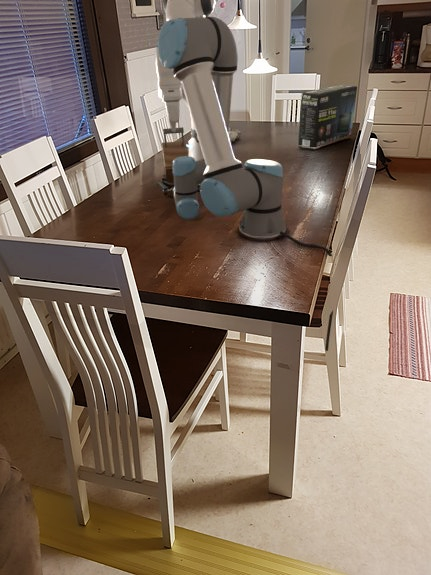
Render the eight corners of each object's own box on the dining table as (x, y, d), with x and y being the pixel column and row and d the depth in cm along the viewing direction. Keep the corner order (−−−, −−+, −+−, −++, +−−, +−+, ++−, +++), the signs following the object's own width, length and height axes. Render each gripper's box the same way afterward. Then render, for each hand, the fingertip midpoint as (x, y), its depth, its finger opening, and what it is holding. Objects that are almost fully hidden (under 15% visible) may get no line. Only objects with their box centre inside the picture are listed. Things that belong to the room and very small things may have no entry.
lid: (161, 144, 186) (159, 125, 179) (185, 142, 187) (184, 123, 180) (165, 168, 176) (163, 149, 169) (190, 166, 178) (190, 146, 171)
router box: (314, 151, 231) (318, 94, 217) (296, 148, 237) (299, 92, 224) (352, 138, 251) (358, 85, 238) (335, 135, 258) (340, 83, 245)
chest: (165, 184, 195) (162, 158, 189) (188, 182, 196) (186, 156, 190) (168, 196, 182) (165, 169, 176) (192, 194, 183) (190, 167, 177)
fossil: (231, 138, 245) (212, 120, 248) (221, 154, 251) (202, 137, 255) (247, 136, 258) (229, 120, 262) (237, 152, 265) (220, 136, 268)
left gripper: (160, 88, 179) (163, 125, 187) (163, 97, 162) (167, 136, 169) (176, 87, 180) (179, 123, 187) (181, 95, 163) (184, 135, 170)
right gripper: (153, 208, 164) (150, 188, 183) (215, 202, 167) (206, 183, 186) (151, 187, 160) (148, 169, 179) (214, 182, 163) (205, 165, 182)
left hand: (173, 130), depth 178 cm, fingers closed
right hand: (178, 176), depth 182 cm, fingers closed on chest, 10 cm apart
